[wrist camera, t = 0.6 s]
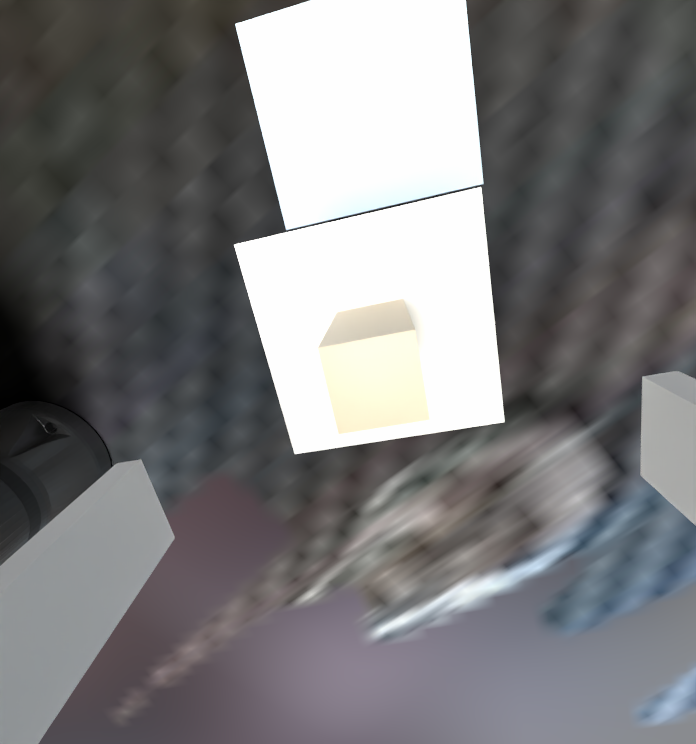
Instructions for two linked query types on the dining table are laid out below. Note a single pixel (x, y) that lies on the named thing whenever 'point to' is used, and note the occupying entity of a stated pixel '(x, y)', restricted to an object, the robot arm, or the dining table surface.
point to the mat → (363, 103)
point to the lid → (379, 323)
